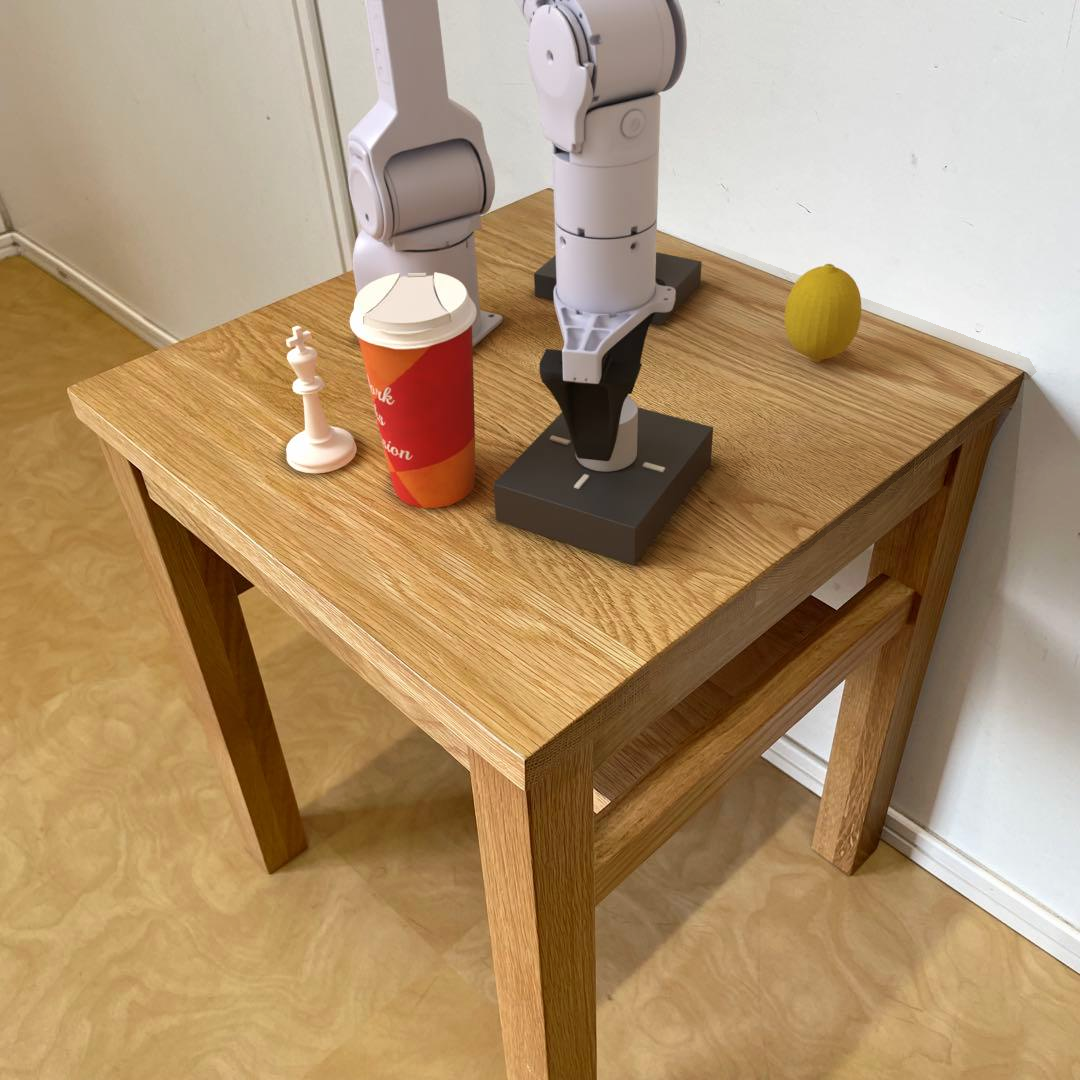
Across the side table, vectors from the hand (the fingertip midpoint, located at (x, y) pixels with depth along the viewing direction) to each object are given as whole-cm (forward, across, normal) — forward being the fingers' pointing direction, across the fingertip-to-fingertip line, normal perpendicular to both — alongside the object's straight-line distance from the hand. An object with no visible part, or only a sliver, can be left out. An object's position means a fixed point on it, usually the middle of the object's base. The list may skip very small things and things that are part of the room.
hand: (606, 422), depth 71 cm
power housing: (+6, +28, +4) cm, 29 cm away
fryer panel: (+6, 0, 0) cm, 6 cm away
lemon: (+6, +19, -13) cm, 24 cm away
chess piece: (+6, +1, +21) cm, 21 cm away
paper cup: (+6, -1, +12) cm, 13 cm away
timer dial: (+2, 0, 0) cm, 2 cm away
